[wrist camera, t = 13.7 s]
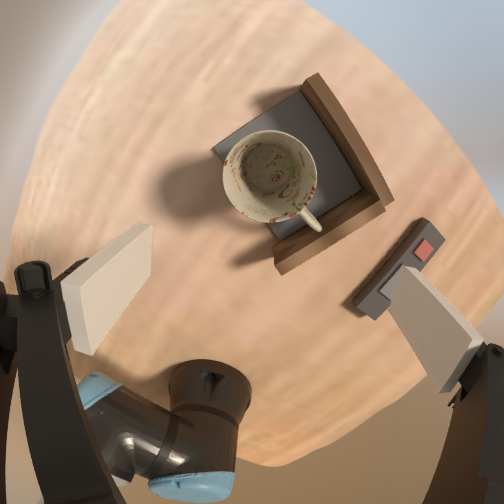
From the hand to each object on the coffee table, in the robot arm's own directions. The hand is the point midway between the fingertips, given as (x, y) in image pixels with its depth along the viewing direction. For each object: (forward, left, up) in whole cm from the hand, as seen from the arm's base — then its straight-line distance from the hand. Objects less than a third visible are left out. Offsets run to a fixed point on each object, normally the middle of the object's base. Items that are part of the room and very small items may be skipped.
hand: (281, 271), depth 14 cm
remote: (+9, -19, -23) cm, 32 cm away
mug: (+2, +1, -23) cm, 23 cm away
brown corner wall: (+4, 0, -23) cm, 23 cm away
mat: (+3, +1, -23) cm, 23 cm away
